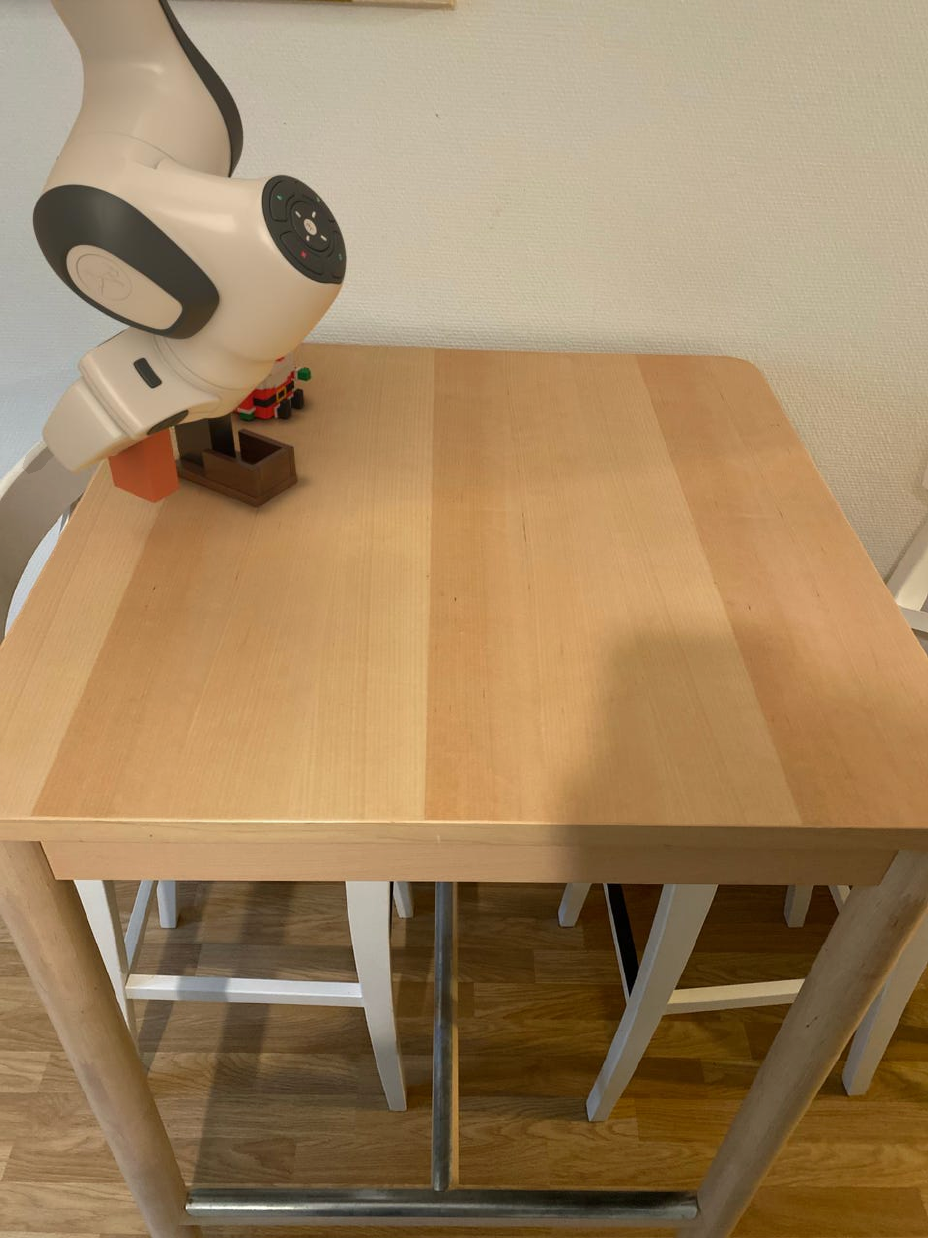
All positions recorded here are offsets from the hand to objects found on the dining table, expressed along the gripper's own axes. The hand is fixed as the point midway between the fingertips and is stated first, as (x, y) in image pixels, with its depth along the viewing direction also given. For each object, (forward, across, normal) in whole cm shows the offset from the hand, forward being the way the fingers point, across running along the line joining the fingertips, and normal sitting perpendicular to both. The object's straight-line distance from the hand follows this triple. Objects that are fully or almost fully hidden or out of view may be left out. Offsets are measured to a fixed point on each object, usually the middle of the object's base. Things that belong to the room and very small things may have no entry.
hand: (131, 436), depth 77 cm
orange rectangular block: (+3, 0, +4) cm, 5 cm away
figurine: (+12, -26, +1) cm, 29 cm away
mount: (+7, -12, +6) cm, 15 cm away
